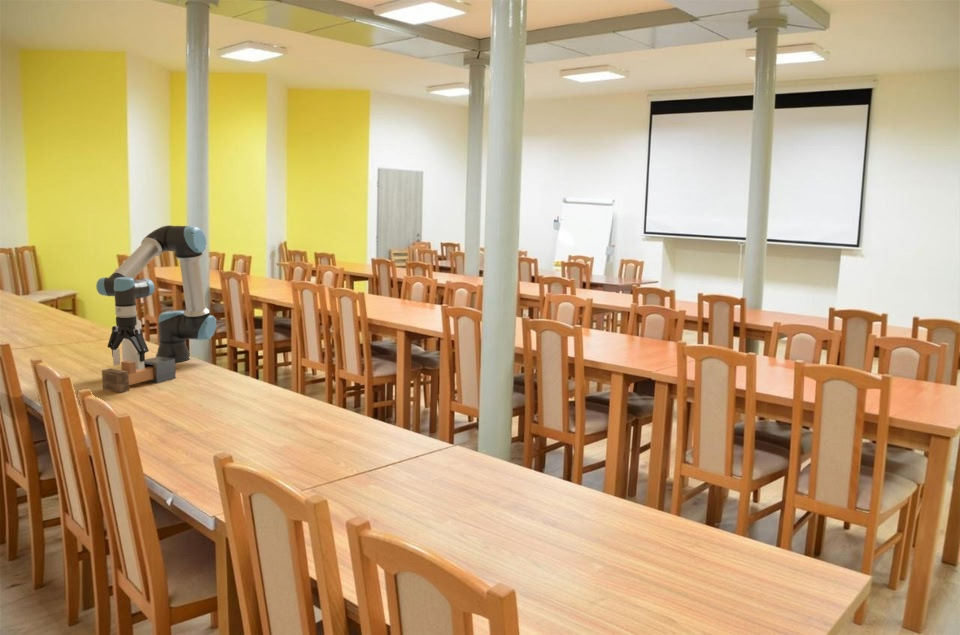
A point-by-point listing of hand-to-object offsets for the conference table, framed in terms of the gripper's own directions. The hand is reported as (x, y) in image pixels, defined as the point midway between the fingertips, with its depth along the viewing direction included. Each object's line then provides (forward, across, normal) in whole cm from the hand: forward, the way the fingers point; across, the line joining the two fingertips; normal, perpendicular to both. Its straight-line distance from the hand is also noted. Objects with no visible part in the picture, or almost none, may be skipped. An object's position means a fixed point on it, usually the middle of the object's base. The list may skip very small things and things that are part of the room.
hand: (128, 367), depth 307 cm
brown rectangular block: (+8, 0, -7) cm, 11 cm away
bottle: (+9, -16, +16) cm, 24 cm away
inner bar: (+7, 0, +2) cm, 7 cm away
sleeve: (+8, 0, +15) cm, 17 cm away
